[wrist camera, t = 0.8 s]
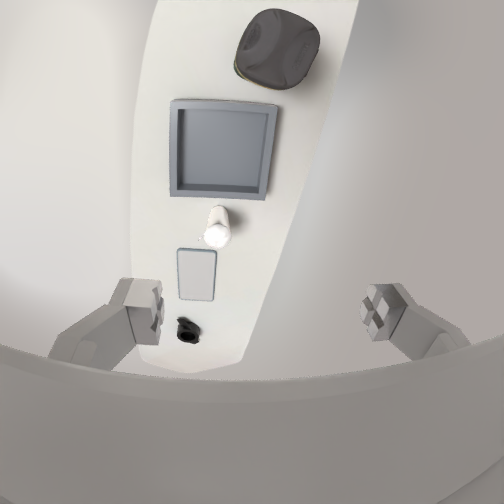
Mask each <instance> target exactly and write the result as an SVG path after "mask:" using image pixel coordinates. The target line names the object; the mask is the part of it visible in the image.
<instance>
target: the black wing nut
mask: <svg viewBox="0 0 504 504" xmlns="http://www.w3.org/2000/svg"><path fill="white" fill-rule="evenodd" d="M177 321H178V322H179V325H178V330H177V337H178V339H180V340H181V341H183V342H188V343H192V344H196V343H198V342H199V341H198V338H199V327H198V326H197V325H196V324H194V323H192V322H186V321H184V320H183V319H177Z"/></svg>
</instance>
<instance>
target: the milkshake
mask: <svg viewBox="0 0 504 504" xmlns="http://www.w3.org/2000/svg"><path fill="white" fill-rule="evenodd" d="M203 236H204V240H205V242H206V243H207V244H208V245H209V246H210V247H213V248H217V249H221V248H224V247H225V246H227V245H228V244H229V243H230V241H231V238H232V234H231V230H230V225H229V220H228V214H227V210H226V209H225V208H224V207H222V206H216V207H213V208H212V210H211V211H210V215H209V219H208V223H207V226H206V230H205V233H204V234H203V235H202V236H201V237H200V238H199V239H198V241H199V240H200V239H201V238H202V237H203Z"/></svg>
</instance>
